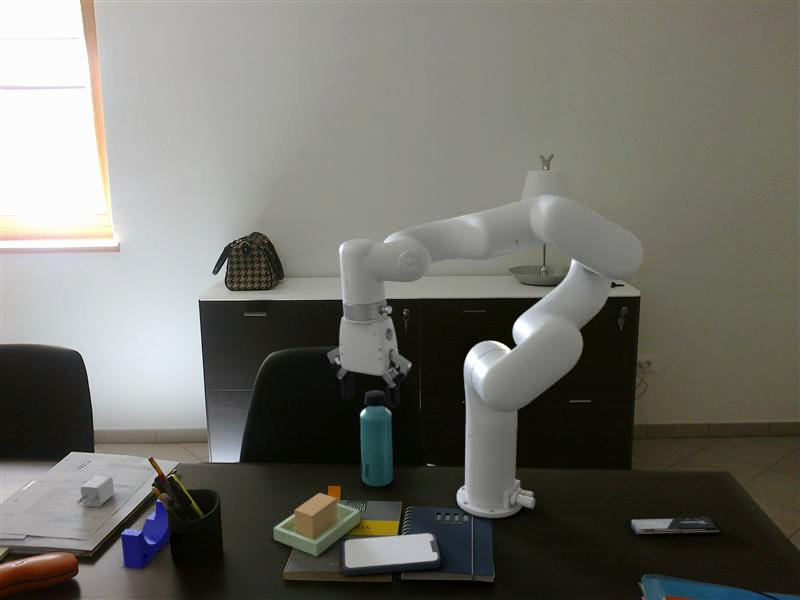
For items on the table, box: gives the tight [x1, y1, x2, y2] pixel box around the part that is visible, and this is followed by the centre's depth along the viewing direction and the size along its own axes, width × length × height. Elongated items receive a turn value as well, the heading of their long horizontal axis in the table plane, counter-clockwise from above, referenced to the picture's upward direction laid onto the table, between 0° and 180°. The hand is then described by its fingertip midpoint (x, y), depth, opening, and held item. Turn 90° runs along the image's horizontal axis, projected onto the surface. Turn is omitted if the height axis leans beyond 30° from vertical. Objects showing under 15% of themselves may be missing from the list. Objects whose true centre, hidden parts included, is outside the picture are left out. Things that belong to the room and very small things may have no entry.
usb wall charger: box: [76, 475, 115, 507], centre depth 131 cm, size 4×7×4 cm, turn 170°
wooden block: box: [294, 492, 338, 539], centre depth 121 cm, size 4×7×4 cm, turn 148°
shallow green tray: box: [273, 502, 361, 557], centre depth 121 cm, size 10×13×2 cm
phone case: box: [341, 532, 442, 577], centre depth 113 cm, size 9×2×16 cm
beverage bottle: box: [359, 389, 394, 487], centre depth 135 cm, size 6×7×20 cm
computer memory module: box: [629, 516, 721, 536], centre depth 120 cm, size 15×1×4 cm
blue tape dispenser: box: [120, 498, 171, 570], centre depth 116 cm, size 12×4×6 cm, turn 169°
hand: (370, 401), depth 123 cm, fingers open, 9 cm apart
